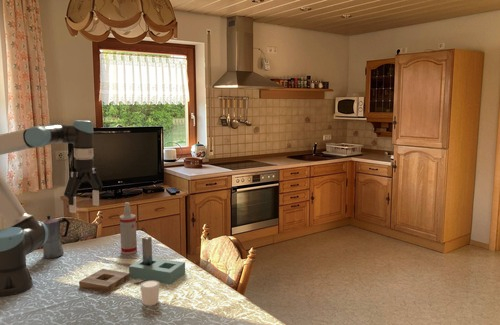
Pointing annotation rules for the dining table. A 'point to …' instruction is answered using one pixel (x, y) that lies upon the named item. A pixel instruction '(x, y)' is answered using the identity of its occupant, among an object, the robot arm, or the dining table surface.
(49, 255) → the moka pot
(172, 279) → the block
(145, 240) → the steel pin
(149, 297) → the shot glass
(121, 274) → the socket block
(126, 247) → the white plastic bottle
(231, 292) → the dining table surface
